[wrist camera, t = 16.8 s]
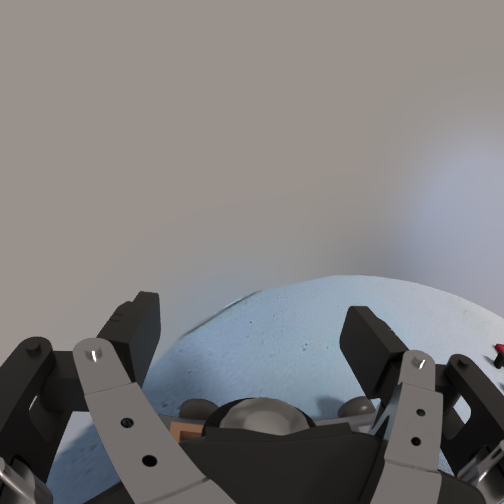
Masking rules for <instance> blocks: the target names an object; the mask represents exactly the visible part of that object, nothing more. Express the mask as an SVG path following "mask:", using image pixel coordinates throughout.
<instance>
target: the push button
mask: <svg viewBox="0 0 504 504" xmlns="http://www.w3.org/2000/svg"><path fill="white" fill-rule="evenodd" d="M315 426H316V424H315V423H314V422H313V420H312V419H311V418H310V417H309V416H308V415H306V414H305V413H304V412H302V411H301V410H299V409H298V408H296V407H294V406H292V405H290V404H288V403H287V402H283V401H281V400H278V399H271V398H267V397H265V398H262V397H259V398H245V399H240V400H235V401H232V402H229V403H227V404H225V405H223V406H221V407H220V408H218V409H217V410H215V411H214V412H213V413H212V414H211V415H210V416H209V417H208V419H207V420H206V422H205V424H204V426H203V428H202V432H201V437H205V436H206V427H218V428H240V429H248V430H253V431H258V432H263V433H269V434H275V435H288V434H291V433H295V432H298V431H302V430H305V429H308V428H312V427H315Z"/></svg>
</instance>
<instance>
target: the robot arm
mask: <svg viewBox="0 0 504 504" xmlns="http://www.w3.org/2000/svg"><path fill="white" fill-rule="evenodd" d="M160 333H161V323H160V304H159V295H158V293H152V292H144V291H140V292H139V293H138V295H137V296H136V298H135V299H134V301H133V302H130V301H127V302H125V303H124V304H122V305H120V306H118V308H117V309H116V310H115V312H114V313H113V315H112V316H111V317H110V319H109V321H107V323H106V324H105V325H104V327H103V328H102V330H101V331H100V332H99V334H98V335H97V337H96V338H88V339H85V340H82V341H80V342H79V343H77V344H76V345H75V347H74V349H73V351H53V348H52V345H51V343H50V341H49V340H47V339H46V338H43V337H31V338H28V339H26V340H24V341H22V342H21V343H20V344H19V345H18V346H17V348H16V349H15V350H14V351H13V352H12V353H11V355H10V356H9V357H8V358H7V360H6V361H5V362H4V363H3V365H2V366H1V367H0V504H53V497H52V494H51V491H50V490H49V488H48V487H47V486H46V482H47V478H48V475H49V472H50V469H51V466H52V463H53V460H54V458H55V455H56V452H57V449H58V447H59V444H60V441H61V439H62V436H63V434H64V431H65V429H66V426H67V423H68V421H69V419H70V417H71V414H72V412H73V411H81V412H83V411H84V412H90V414H91V416H92V419H93V422H94V424H95V427H96V429H97V431H98V434H99V436H100V438H101V441H102V443H103V445H104V447H105V449H106V452H107V454H108V456H109V458H110V460H111V462H112V464H113V466H114V468H115V470H116V471H117V473H118V475H119V477H120V479H121V481H120V482H118V483H117V484H115V485H114V486H112V487H110V488H109V489H107V490H106V491H104V492H102V493H101V494H99V495H97V496H96V497H94V498H92V499H90V500H89V501H87V502H85V503H83V504H501V503H502V502H504V396H503V394H502V393H501V392H500V391H499V390H498V389H497V387H496V386H495V385H494V384H493V383H492V382H491V380H490V379H489V378H488V377H487V376H486V375H485V374H484V373H483V371H482V370H481V369H480V368H479V367H478V366H477V365H476V364H475V363H474V362H473V361H472V360H471V359H470V358H468V357H467V356H464V355H461V354H454V355H452V356H451V357H450V359H449V361H448V363H447V364H446V365H441V364H435V362H434V360H433V359H432V357H431V356H429V355H428V354H426V353H424V352H422V351H419V350H409V349H408V348H407V347H406V345H405V344H404V343H403V342H402V341H401V340H400V339H399V337H398V336H397V335H395V333H394V332H393V331H392V330H391V328H390V327H389V326H388V325H387V324H386V323H385V322H384V321H382V320H381V319H379V318H378V317H376V316H375V314H374V313H373V312H372V311H371V310H370V309H369V308H368V307H367V306H351V307H349V309H348V311H347V315H346V318H345V322H344V325H343V328H342V332H341V335H340V341H339V343H340V349H341V351H342V353H343V355H344V356H345V358H346V360H347V362H348V364H349V365H350V367H351V369H352V371H353V373H354V375H355V377H356V378H357V380H358V382H359V384H360V386H361V388H362V390H363V391H364V393H365V395H366V397H367V399H368V400H370V399H376V398H380V399H381V401H380V402H379V404H378V406H377V409H376V412H375V415H374V418H373V420H372V423H371V426H370V429H369V431H368V434H367V433H363V432H356V431H352V430H351V427H350V425H349V422H344V423H337V424H329V425H320V426H315V427H312V428H308V429H305V430H302V431H298V432H295V433H291V434H288V435H275V434H269V433H263V432H258V431H253V430H248V429H240V428H218V427H206V436H205V437H197V438H193V439H189V440H185V441H182V442H180V443H177V442H176V440H175V439H174V438H173V436H172V435H171V434H170V432H169V431H168V429H167V428H166V427H165V425H164V424H163V422H162V421H161V419H160V418H159V416H158V415H157V413H156V412H155V410H154V409H153V407H152V406H151V404H150V403H149V401H148V399H147V398H146V396H145V395H144V393H143V391H142V390H141V389H142V386H143V383H144V380H145V377H146V374H147V372H148V369H149V366H150V363H151V361H152V358H153V355H154V352H155V350H156V347H157V345H158V342H159V339H160ZM461 395H462V397H463V398H464V399H465V401H466V402H467V404H468V405H469V406H470V408H471V416H470V418H469V420H468V421H467V422H466V424H464V423H463V421H462V420H461V418H460V417H459V415H458V414H457V412H456V411H455V409H454V408H453V407H454V405H455V404H456V402H457V401H458V399H459V398H460V396H461ZM35 396H37V398H36V400H35V401H34V403H33V405H32V407H31V409H30V411H29V408H30V405H31V403H32V401H33V399H34V398H35ZM440 448H441V450H442V452H443V454H444V456H445V458H446V460H447V462H448V463H449V465H450V467H451V469H452V471H453V473H454V475H455V477H454V476H452V475H450V474H447V473H445V472H443V471H441V470H439V469H437V466H438V459H439V451H440Z"/></svg>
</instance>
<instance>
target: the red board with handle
mask: <svg viewBox="0 0 504 504" xmlns="http://www.w3.org/2000/svg"><path fill="white" fill-rule="evenodd" d="M495 348H496V350H497V351H498V355H497V357H496V359H495V361H494V365H495V366H496V368H497V369H500V368H501V366H502V365H504V345H502V344H496V346H495Z"/></svg>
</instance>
